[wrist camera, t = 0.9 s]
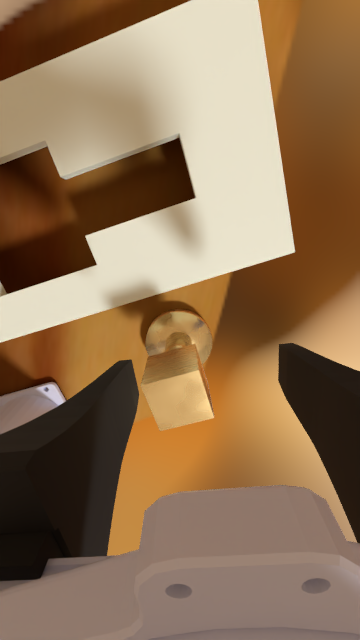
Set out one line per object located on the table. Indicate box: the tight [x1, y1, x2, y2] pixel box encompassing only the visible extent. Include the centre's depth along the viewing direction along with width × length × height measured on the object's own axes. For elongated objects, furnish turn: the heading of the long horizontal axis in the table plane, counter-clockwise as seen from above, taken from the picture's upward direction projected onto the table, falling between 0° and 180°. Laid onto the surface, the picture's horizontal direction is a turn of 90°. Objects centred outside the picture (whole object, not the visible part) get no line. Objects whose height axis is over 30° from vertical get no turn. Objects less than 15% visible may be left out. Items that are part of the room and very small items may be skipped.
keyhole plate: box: [0, 0, 295, 342], centre depth 17 cm, size 24×14×4 cm, turn 107°
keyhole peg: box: [141, 309, 214, 431], centre depth 19 cm, size 6×6×9 cm
